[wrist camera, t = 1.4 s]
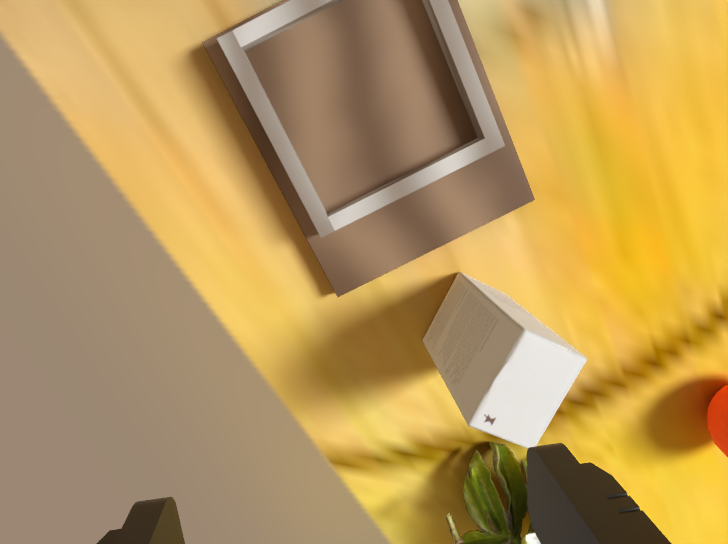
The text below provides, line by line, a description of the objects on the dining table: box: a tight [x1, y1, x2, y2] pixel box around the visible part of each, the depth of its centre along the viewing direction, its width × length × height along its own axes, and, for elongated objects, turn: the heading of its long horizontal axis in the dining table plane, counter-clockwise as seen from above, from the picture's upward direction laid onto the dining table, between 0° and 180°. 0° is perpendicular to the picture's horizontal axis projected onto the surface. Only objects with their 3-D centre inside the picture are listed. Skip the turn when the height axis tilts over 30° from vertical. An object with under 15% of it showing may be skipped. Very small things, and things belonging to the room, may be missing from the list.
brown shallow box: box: [202, 0, 535, 297], centre depth 33 cm, size 15×18×3 cm
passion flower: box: [446, 442, 541, 544], centre depth 40 cm, size 11×11×12 cm
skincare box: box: [422, 272, 587, 449], centre depth 33 cm, size 6×4×12 cm
